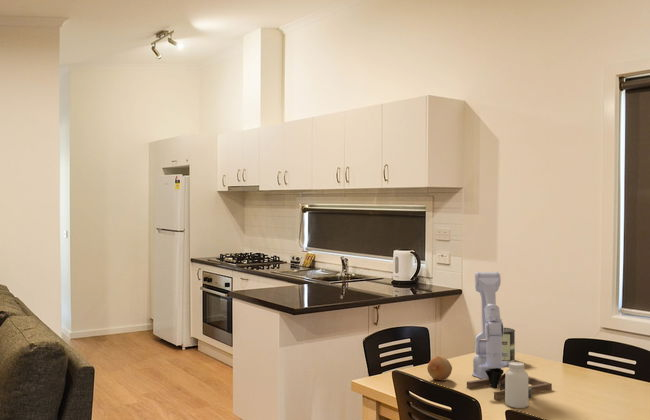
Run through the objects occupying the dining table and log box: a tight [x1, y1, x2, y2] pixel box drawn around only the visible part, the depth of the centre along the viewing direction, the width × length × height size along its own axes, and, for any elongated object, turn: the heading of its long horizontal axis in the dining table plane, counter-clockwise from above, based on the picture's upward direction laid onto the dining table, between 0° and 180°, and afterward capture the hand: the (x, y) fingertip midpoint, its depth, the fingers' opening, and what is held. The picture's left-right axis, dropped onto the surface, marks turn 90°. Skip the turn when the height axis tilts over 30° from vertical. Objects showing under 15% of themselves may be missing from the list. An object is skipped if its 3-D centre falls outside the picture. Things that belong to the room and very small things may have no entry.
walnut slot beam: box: [466, 375, 553, 401], centre depth 239 cm, size 17×28×2 cm, turn 116°
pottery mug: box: [498, 372, 506, 392], centre depth 238 cm, size 12×10×8 cm
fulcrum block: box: [528, 387, 532, 399], centre depth 230 cm, size 3×3×3 cm
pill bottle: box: [504, 361, 529, 409], centre depth 220 cm, size 8×8×15 cm
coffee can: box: [501, 327, 516, 362], centre depth 284 cm, size 10×10×14 cm
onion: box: [427, 355, 453, 381], centre depth 252 cm, size 10×10×10 cm
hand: (494, 387), depth 236 cm, fingers closed
